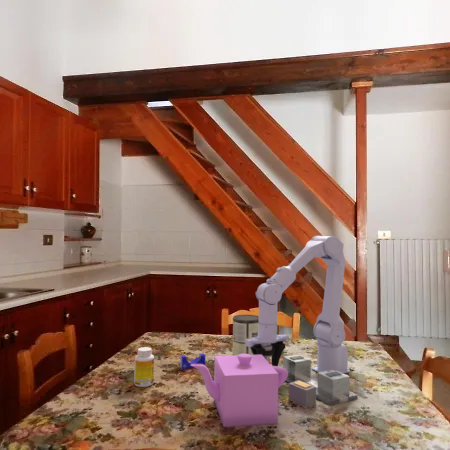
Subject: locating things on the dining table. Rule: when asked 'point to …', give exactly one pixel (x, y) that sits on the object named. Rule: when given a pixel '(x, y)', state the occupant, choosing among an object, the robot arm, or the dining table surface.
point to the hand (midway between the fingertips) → (267, 367)
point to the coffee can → (244, 332)
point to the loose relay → (302, 393)
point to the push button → (268, 351)
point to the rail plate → (319, 380)
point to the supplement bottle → (144, 367)
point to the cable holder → (186, 364)
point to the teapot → (244, 389)
